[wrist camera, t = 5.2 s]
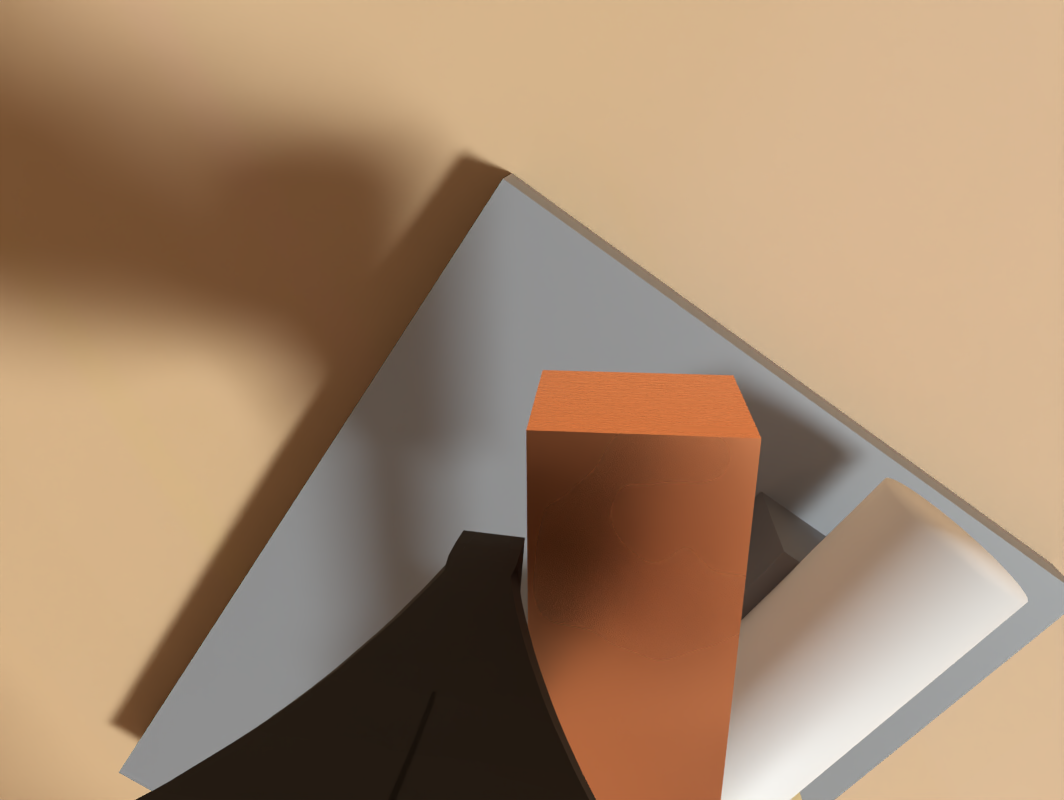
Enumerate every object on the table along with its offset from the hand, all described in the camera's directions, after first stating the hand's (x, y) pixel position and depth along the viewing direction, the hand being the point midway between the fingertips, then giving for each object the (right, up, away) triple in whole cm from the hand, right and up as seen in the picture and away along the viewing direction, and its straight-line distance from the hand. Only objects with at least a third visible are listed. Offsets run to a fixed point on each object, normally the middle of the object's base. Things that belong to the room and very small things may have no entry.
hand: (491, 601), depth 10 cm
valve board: (+1, -4, +9) cm, 10 cm away
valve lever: (+2, -3, +1) cm, 4 cm away
